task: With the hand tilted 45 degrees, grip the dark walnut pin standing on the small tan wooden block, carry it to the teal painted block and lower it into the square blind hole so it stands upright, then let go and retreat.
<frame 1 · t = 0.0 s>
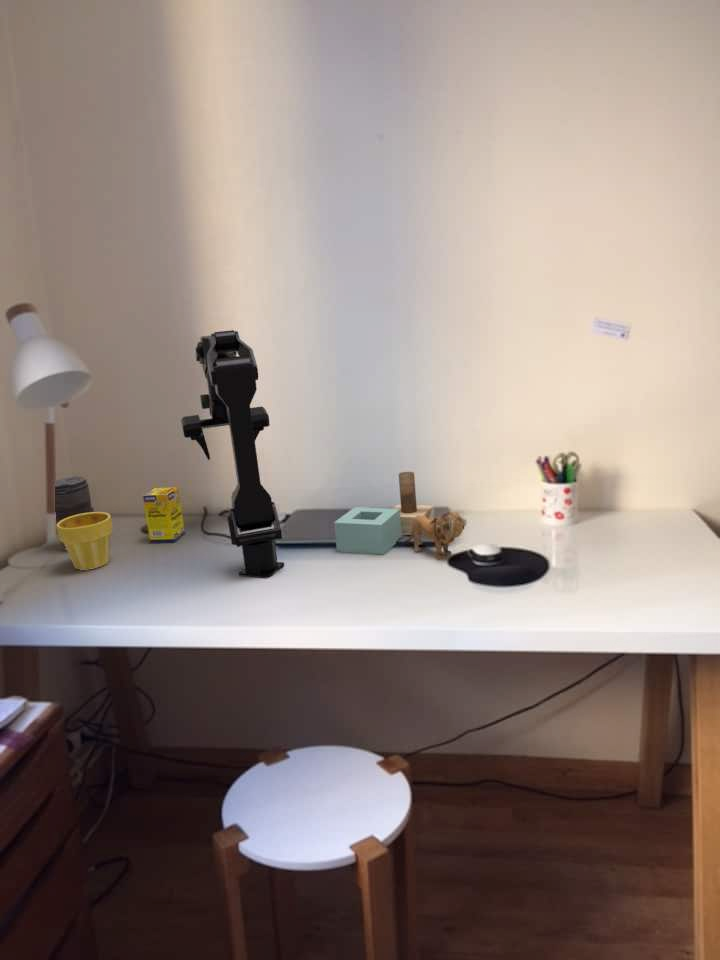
hand: (229, 456, 168), 15 cm above the table, tool pointing down, fingers open, 9 cm apart
supplement box: (168, 539, 164), on the table
pin: (409, 510, 154), point 4 cm above the table, touching pedestal
plant pot: (92, 565, 151), on the table
pedestal: (410, 529, 155), on the table
camera lens: (80, 546, 164), on the table
lion figurine: (436, 553, 141), on the table
socket block: (370, 544, 148), on the table
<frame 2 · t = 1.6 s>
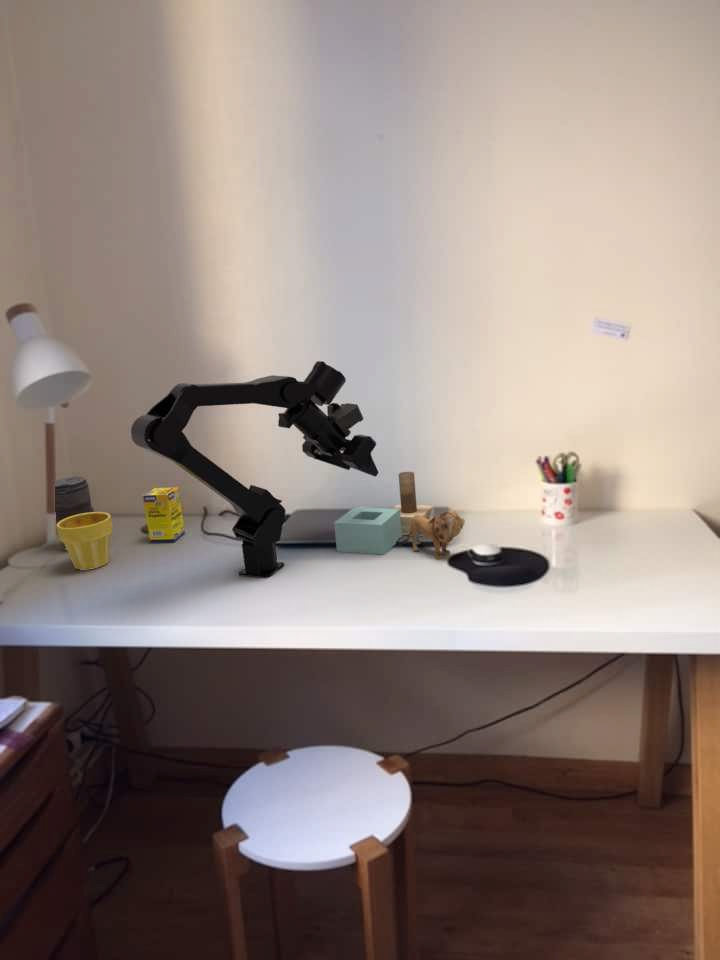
hand: (363, 471, 150), 14 cm above the table, tool tilted 40°, fingers open, 9 cm apart
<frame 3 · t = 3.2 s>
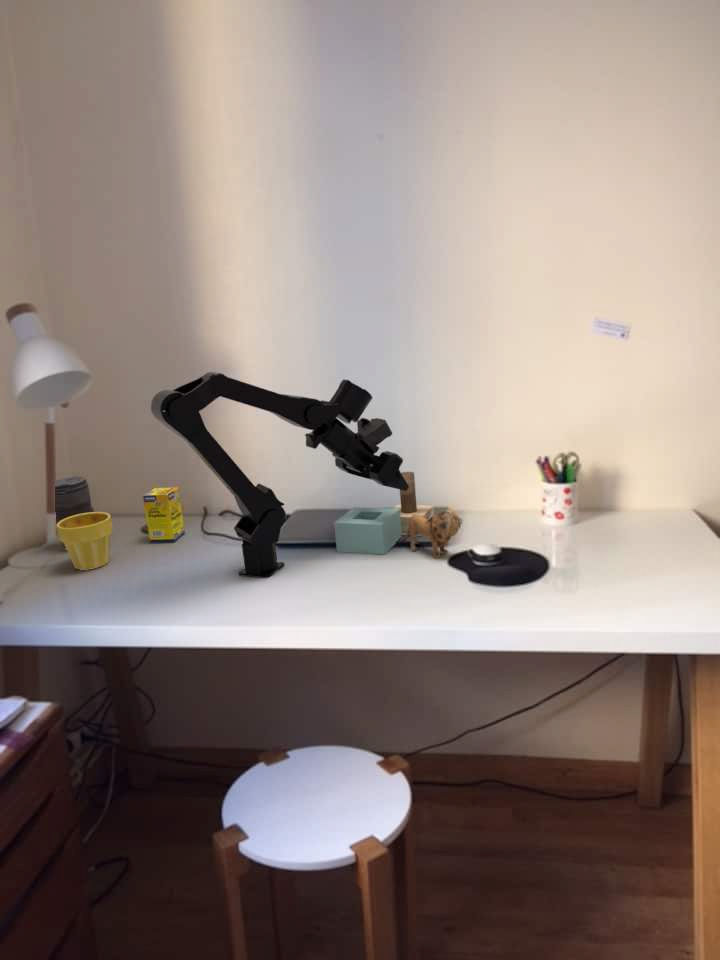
hand: (395, 484, 151), 10 cm above the table, tool tilted 45°, fingers open, 9 cm apart
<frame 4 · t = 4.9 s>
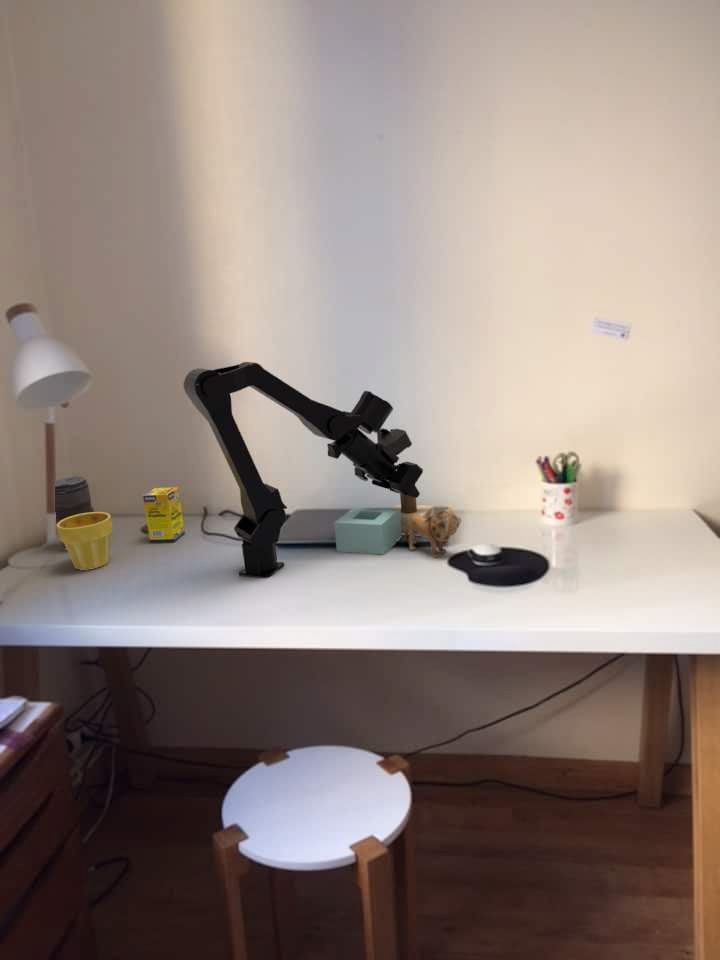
hand: (413, 493, 154), 7 cm above the table, tool tilted 45°, fingers closed on pin, 3 cm apart
pin: (409, 510, 154), point 4 cm above the table, touching gripper, pedestal
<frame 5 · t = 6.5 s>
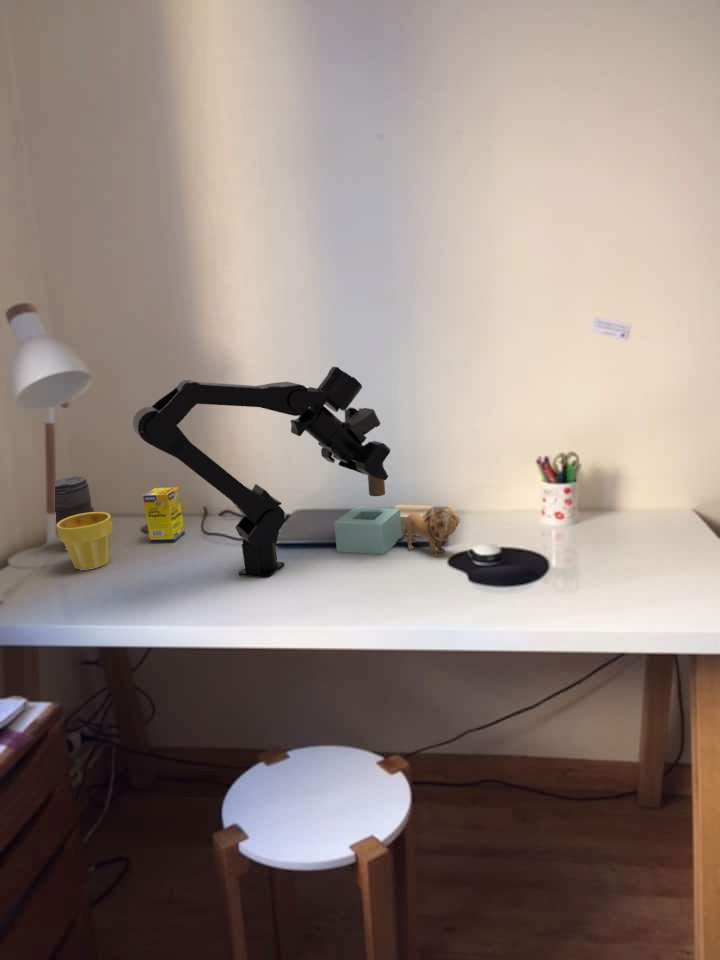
hand: (381, 476, 147), 13 cm above the table, tool tilted 45°, fingers closed on pin, 3 cm apart
pin: (377, 494, 148), point 10 cm above the table, touching gripper
when the fingers open (8 cm above the table, at t = 8.3 s): pin drops 2 cm, resting on socket block.
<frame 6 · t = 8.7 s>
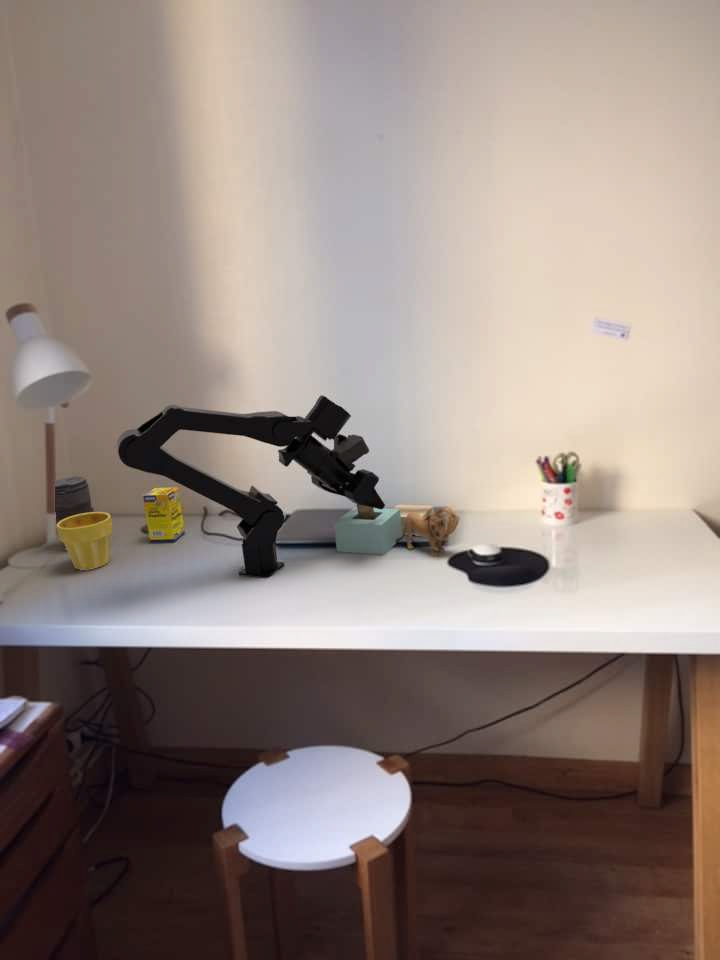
hand: (372, 502, 147), 8 cm above the table, tool tilted 45°, fingers open, 8 cm apart
pin: (368, 529, 147), point 3 cm above the table, touching socket block
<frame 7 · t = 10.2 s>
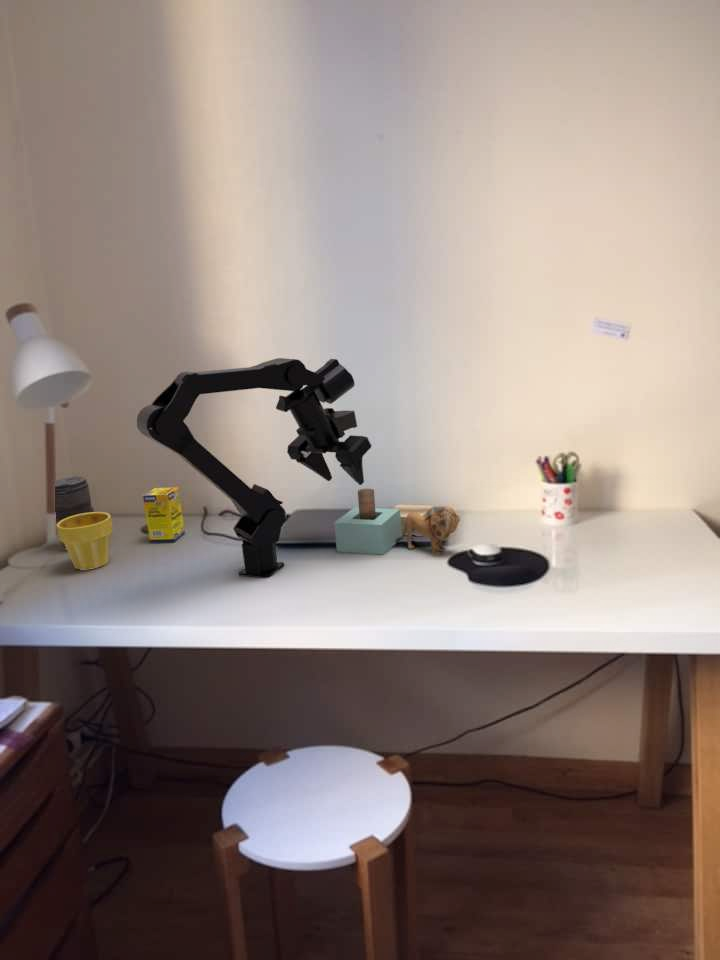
hand: (345, 481, 147), 13 cm above the table, tool tilted 25°, fingers open, 9 cm apart
lion figurine: (429, 549, 143), on the table, touching socket block
everything else where it was.
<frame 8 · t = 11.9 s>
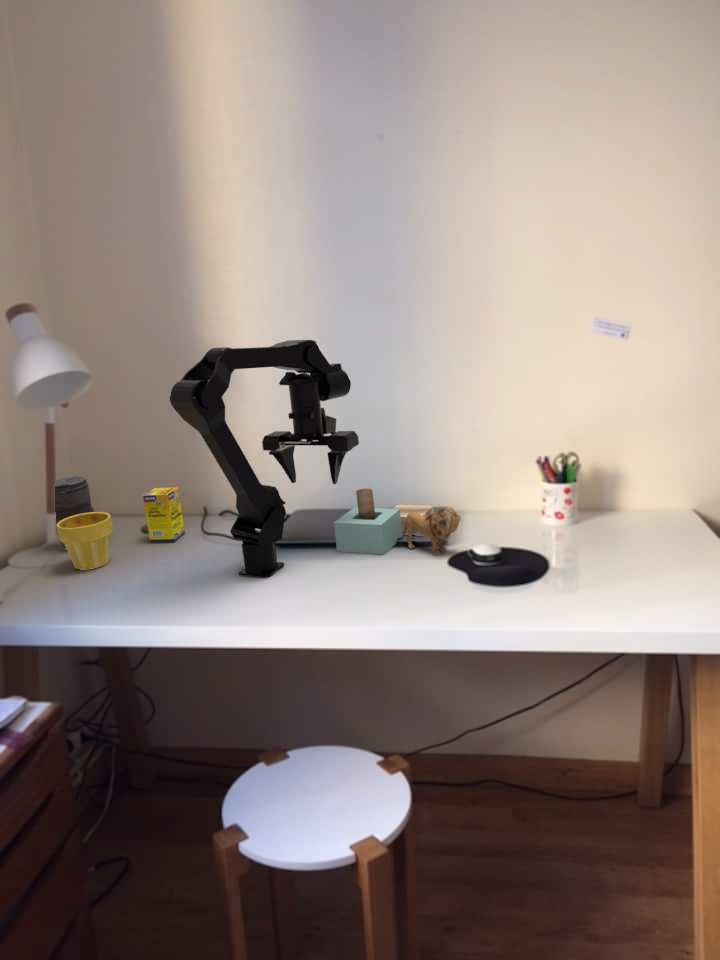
hand: (314, 483, 147), 13 cm above the table, tool pointing down, fingers open, 9 cm apart
lion figurine: (430, 549, 143), on the table
everything else where it was.
at the end: pin 0.0 cm off-centre on the socket block, point 3.1 cm above the socket block's base; pin tilted 1°; the gripper is holding nothing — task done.
